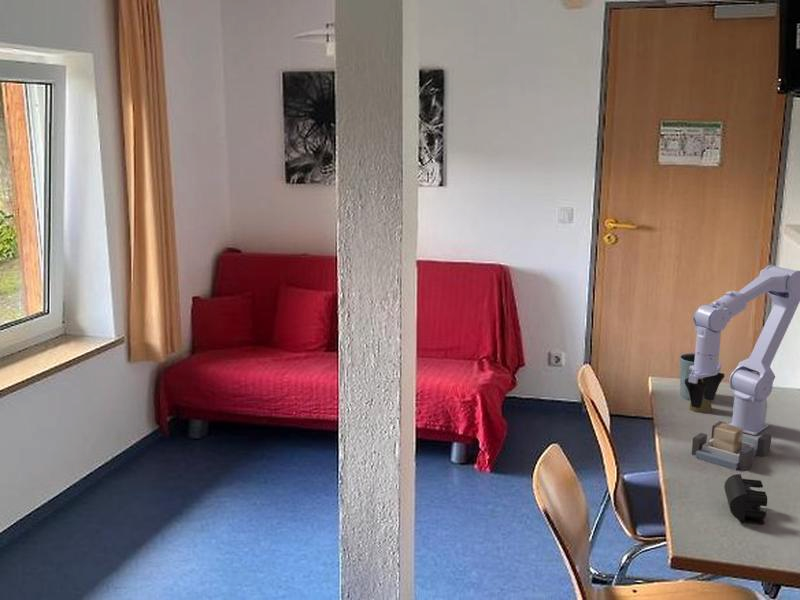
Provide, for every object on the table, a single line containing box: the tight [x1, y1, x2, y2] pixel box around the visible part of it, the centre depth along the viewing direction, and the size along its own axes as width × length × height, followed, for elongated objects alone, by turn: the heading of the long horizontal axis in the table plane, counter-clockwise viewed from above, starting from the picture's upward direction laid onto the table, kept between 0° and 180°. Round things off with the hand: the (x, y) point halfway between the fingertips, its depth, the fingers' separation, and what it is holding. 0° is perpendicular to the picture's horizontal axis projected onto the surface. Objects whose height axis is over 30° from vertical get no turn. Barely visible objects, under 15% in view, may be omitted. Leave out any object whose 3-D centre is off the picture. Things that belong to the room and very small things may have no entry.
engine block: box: [713, 422, 744, 453], centre depth 205 cm, size 5×5×6 cm
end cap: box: [724, 473, 768, 526], centre depth 176 cm, size 10×7×7 cm
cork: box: [688, 378, 712, 414], centre depth 236 cm, size 6×6×11 cm
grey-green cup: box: [679, 352, 695, 402], centre depth 246 cm, size 10×10×12 cm
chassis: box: [691, 420, 772, 471], centre depth 207 cm, size 18×13×4 cm
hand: (702, 403), depth 215 cm, fingers open, 7 cm apart
